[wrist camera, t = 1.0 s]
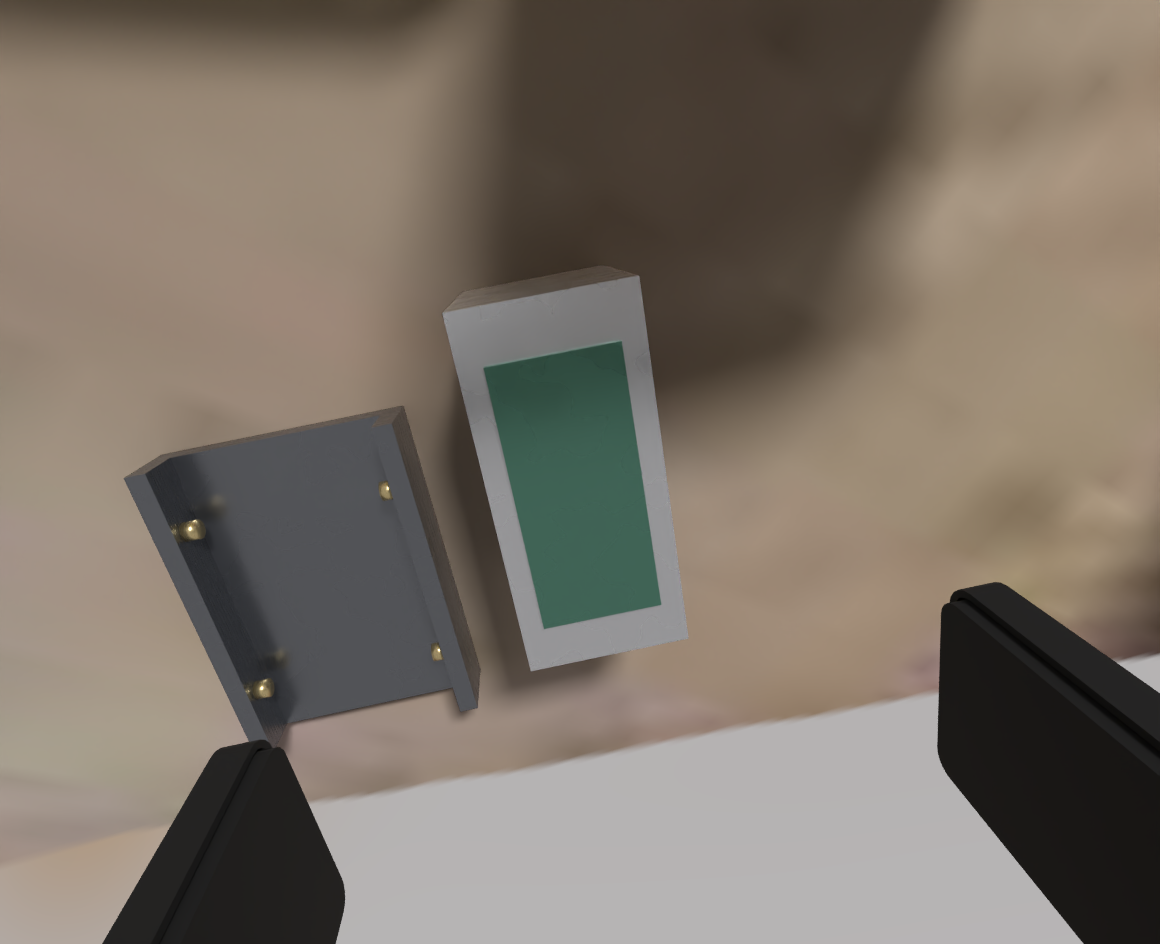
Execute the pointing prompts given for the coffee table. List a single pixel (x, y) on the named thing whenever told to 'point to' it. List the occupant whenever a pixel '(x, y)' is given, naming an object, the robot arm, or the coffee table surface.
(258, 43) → the coffee table surface
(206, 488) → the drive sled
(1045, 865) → the robot arm
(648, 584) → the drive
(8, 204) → the coffee table surface
